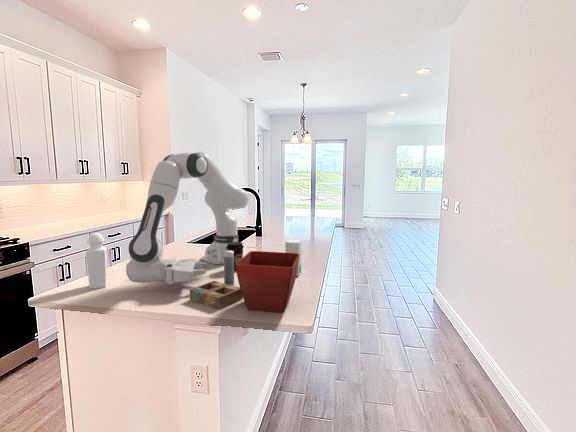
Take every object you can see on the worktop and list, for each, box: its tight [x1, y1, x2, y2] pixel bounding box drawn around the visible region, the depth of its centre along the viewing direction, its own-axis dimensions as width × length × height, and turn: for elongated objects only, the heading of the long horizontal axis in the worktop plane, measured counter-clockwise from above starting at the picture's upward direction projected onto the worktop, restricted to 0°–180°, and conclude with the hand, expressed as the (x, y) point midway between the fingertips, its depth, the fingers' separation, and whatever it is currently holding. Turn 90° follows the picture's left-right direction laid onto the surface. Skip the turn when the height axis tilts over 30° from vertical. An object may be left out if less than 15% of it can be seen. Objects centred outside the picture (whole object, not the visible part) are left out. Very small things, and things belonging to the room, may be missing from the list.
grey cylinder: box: [223, 250, 235, 286], centre depth 135 cm, size 4×4×14 cm
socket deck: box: [189, 280, 244, 310], centre depth 119 cm, size 15×12×4 cm
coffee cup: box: [226, 241, 244, 272], centre depth 157 cm, size 9×8×13 cm
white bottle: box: [85, 232, 108, 290], centre depth 131 cm, size 6×6×22 cm
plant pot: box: [235, 250, 300, 313], centre depth 113 cm, size 19×19×17 cm
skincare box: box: [284, 239, 302, 277], centre depth 150 cm, size 8×7×16 cm
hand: (206, 268), depth 133 cm, fingers open, 8 cm apart
